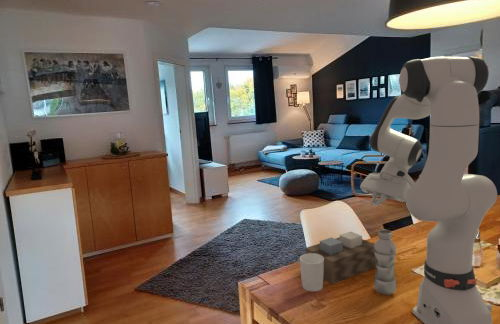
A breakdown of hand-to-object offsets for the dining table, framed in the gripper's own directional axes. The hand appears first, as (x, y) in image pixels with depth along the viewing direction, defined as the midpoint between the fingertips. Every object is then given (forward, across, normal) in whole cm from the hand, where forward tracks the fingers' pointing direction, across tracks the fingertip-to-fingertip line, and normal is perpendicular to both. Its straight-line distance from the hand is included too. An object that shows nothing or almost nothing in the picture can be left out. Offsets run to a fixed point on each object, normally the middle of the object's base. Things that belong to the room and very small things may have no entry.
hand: (374, 204), depth 136 cm
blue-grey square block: (+25, 0, -6) cm, 26 cm away
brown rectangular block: (+26, 0, +3) cm, 27 cm away
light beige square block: (+18, 0, +1) cm, 18 cm away
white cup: (+39, +4, -10) cm, 40 cm away
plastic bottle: (+27, +20, +2) cm, 34 cm away
